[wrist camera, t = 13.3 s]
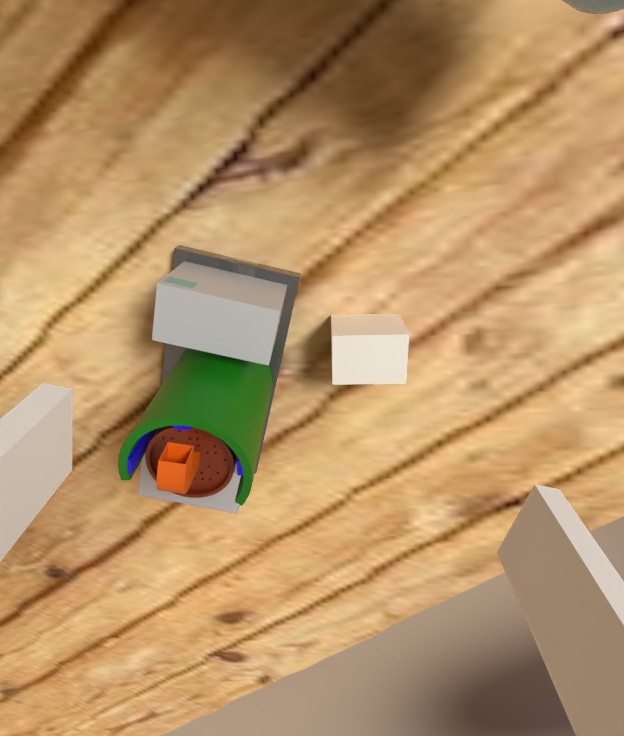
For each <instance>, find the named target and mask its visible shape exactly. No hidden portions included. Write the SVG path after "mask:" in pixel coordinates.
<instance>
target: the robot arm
mask: <svg viewBox="0 0 624 736" xmlns="http://www.w3.org/2000/svg"><path fill="white" fill-rule="evenodd" d="M562 1H564V2H565V3H567V4H568V5H570V6H571V7H573V8H575V9H576V10H578V11H581V12H587V13H592V14H606V13H611V12H615V11H619V10H622V9H624V0H562ZM72 427H73V389H71V388H67V387H62V386H57V385H52V384H47V383H43V384H41V385H40V386H39V387H38V388H37V389H35V390H34V391H33V392H32V393H31V394H29V395H28V396H27V397H26V398H25V399H23V400H22V401H21V402H20V403H19V404H17V405H16V406H15V407H14V408H13V409H11V410H10V411H9V412H8V413H7V414H5V415H4V416H3V417H2V418H1V419H0V562H1V560H2V559H3V558H4V556H5V555H6V554H7V553H8V551H9V550H10V549H11V547H12V546H13V545H14V544H15V542H16V541H17V540H18V539H19V537H20V536H21V535H22V533H23V532H24V531H25V530H26V528H27V527H28V526H29V525H30V523H31V522H32V521H33V519H34V518H35V517H36V516H37V514H38V513H39V512H40V510H41V509H42V508H43V507H44V505H45V504H46V503H47V502H48V500H49V499H50V498H51V496H52V495H53V494H54V493H55V491H56V490H57V489H58V488H59V486H60V485H61V484H62V482H63V481H64V480H65V479H66V477H67V476H68V475H69V473H70V472H71V471H72ZM497 553H498V556H499V558H500V560H501V563H502V565H503V567H504V570H505V572H506V574H507V576H508V579H509V581H510V583H511V586H512V588H513V590H514V593H515V595H516V597H517V600H518V602H519V604H520V607H521V609H522V611H523V614H524V616H525V618H526V621H527V623H528V625H529V628H530V630H531V632H532V635H533V637H534V639H535V642H536V644H537V646H538V649H539V651H540V653H541V655H542V658H543V660H544V662H545V665H546V667H547V670H548V672H549V674H550V676H551V679H552V681H553V683H554V686H555V688H556V690H557V692H558V695H559V697H560V700H561V702H562V704H563V707H564V709H565V711H566V714H567V716H568V718H569V721H570V723H571V725H572V727H573V730H574V732H575V734H576V736H624V582H623V580H622V579H621V577H620V576H619V574H618V573H617V572H616V570H615V569H614V567H613V566H612V564H611V563H610V561H609V560H608V559H607V557H606V556H605V554H604V553H603V551H602V550H601V549H600V547H599V546H598V544H597V543H596V541H595V540H594V538H593V537H592V536H591V534H590V533H589V531H588V530H587V528H586V527H585V525H584V524H583V523H582V521H581V520H580V518H579V517H578V515H577V514H576V512H575V511H574V510H573V508H572V507H571V505H570V504H569V502H568V501H567V499H566V498H565V497H564V495H563V494H562V492H561V491H560V489H555V488H550V487H545V486H540V485H534V487H533V488H532V490H531V492H530V494H529V496H528V497H527V499H526V501H525V503H524V505H523V507H522V508H521V510H520V512H519V514H518V516H517V517H516V519H515V521H514V523H513V525H512V526H511V528H510V530H509V532H508V534H507V535H506V537H505V539H504V541H503V543H502V544H501V546H500V548H499V550H498V552H497Z"/></svg>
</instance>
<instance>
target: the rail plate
mask: <svg viewBox="0 0 624 736" xmlns="http://www.w3.org/2000/svg"><path fill="white" fill-rule="evenodd" d="M184 261H186V262H190V263H194V264H199V265H203V266H207V267H212V268H216V269H220V270H225V271H229V272H233V273H238V274H242V275H246V276H251V277H255V278H259V279H263V280H268V281H272V282H276V283H281V284H285V285H287V289H286V294H285V298H284V303H283V308H282V313H281V317H280V322H279V327H278V331H277V335H276V339H275V343H274V347H273V351H272V355H271V359H270V363H269V366H270V369H271V373H272V380H273V383H272V390H271V395H270V400H269V405H268V409H267V414H266V419H265V424H264V429H263V434H262V438H261V443H260V448H259V453H258V458H257V462H256V467H255V472H254V473H256V471H257V467H258V462H259V458H260V453H261V449H262V444H263V440H264V435H265V431H266V426H267V422H268V417H269V413H270V408H271V404H272V399H273V395H274V390H275V386H276V381H277V377H278V372H279V368H280V363H281V359H282V354H283V350H284V346H285V341H286V337H287V332H288V328H289V323H290V319H291V314H292V310H293V305H294V301H295V296H296V292H297V287H298V283H299V278H300V273H295V272H291V271H287V270H283V269H278V268H274V267H270V266H266V265H261V264H257V263H253V262H248V261H244V260H240V259H236V258H231V257H227V256H223V255H219V254H214V253H210V252H206V251H202V250H197V249H193V248H189V247H184V246H180V245H179V246H178V247H176V248H175V253H174V262H173V270H174V269H175V268H176V267H178V266H179V265H180V264H181V263H183V262H184ZM186 349H187V348H186V347H181V346H177V345H172V344H167V343H165V351H164V360H163V370H162V380H161V386H162V384H163V383H164V381H165V380H166V378H167V377H168V375H169V374H170V372H171V371H172V369H173V368H174V366H175V365H176V363H177V362H178V360H179V359H180V357H181V356H182V354H183V353H184V351H185V350H186Z"/></svg>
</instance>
